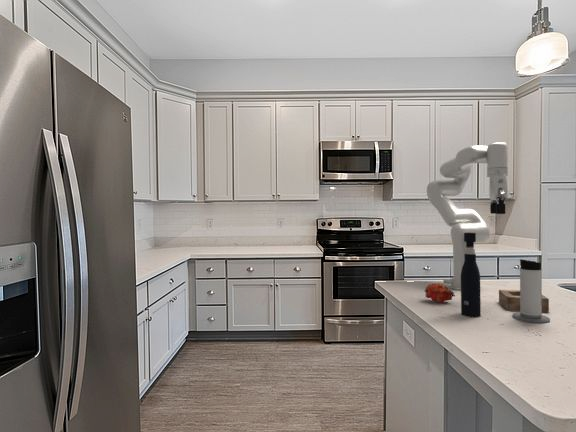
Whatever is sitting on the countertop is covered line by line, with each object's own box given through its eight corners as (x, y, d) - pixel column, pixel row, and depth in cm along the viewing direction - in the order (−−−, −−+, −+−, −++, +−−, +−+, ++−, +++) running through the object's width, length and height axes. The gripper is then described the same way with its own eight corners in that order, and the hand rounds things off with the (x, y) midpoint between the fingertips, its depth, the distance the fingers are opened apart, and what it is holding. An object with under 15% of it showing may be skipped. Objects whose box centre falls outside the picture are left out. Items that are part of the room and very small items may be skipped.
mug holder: (507, 310, 138) (507, 296, 138) (499, 301, 150) (498, 289, 150) (548, 312, 134) (548, 298, 134) (536, 303, 146) (536, 291, 146)
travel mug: (515, 314, 130) (514, 258, 130) (532, 313, 131) (532, 258, 131) (528, 319, 124) (527, 260, 124) (546, 318, 125) (546, 260, 124)
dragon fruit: (423, 303, 156) (452, 311, 149) (419, 295, 150) (450, 303, 143) (428, 285, 160) (458, 292, 153) (425, 276, 154) (455, 284, 147)
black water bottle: (479, 313, 135) (478, 232, 134) (482, 318, 129) (481, 233, 128) (460, 311, 137) (459, 232, 136) (462, 316, 131) (461, 233, 130)
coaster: (517, 322, 124) (517, 320, 124) (508, 313, 134) (508, 311, 134) (555, 324, 120) (555, 322, 120) (543, 314, 131) (543, 313, 131)
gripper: (513, 170, 143) (514, 213, 143) (501, 174, 159) (502, 213, 160) (492, 171, 145) (492, 214, 145) (482, 175, 162) (483, 213, 162)
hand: (497, 213), depth 153 cm, fingers open, 9 cm apart
